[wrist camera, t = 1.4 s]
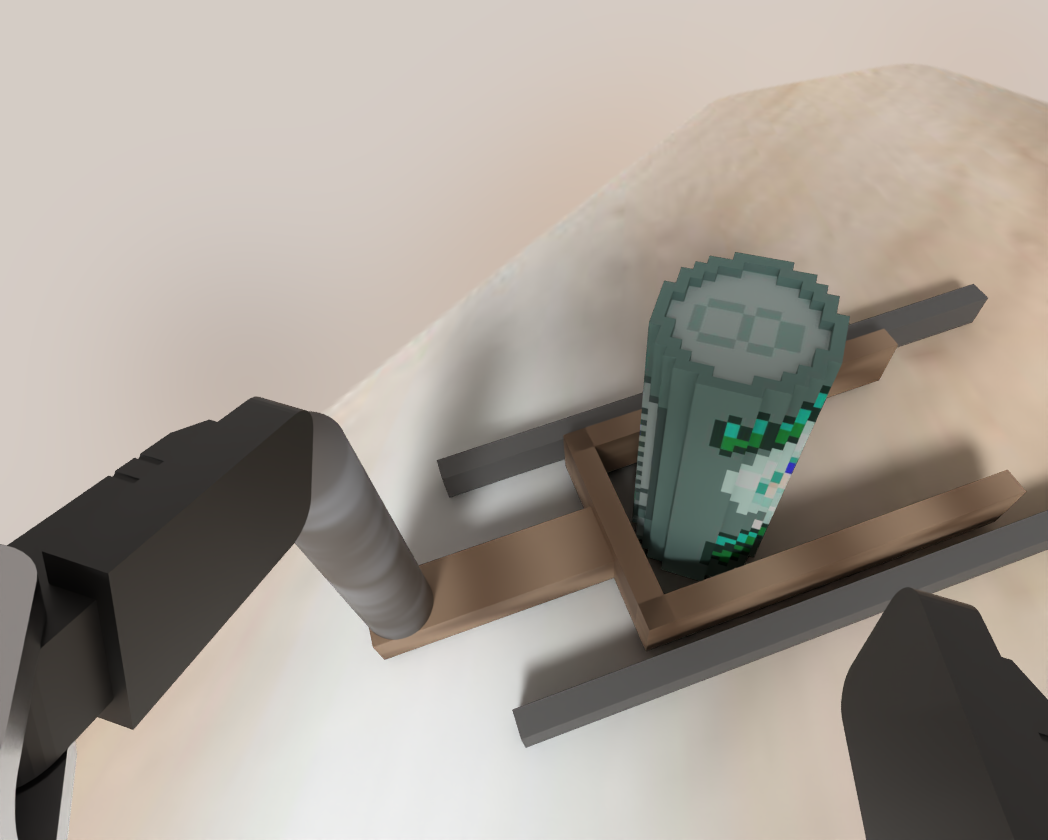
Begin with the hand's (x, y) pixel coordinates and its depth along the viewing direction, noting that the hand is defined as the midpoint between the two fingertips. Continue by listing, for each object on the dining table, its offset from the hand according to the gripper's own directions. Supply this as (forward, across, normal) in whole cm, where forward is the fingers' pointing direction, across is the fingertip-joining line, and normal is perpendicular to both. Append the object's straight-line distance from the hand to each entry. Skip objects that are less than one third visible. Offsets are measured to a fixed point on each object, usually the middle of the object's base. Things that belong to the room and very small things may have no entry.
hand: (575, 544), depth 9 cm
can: (+22, -6, +14) cm, 27 cm away
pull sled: (+21, -4, +14) cm, 26 cm away
